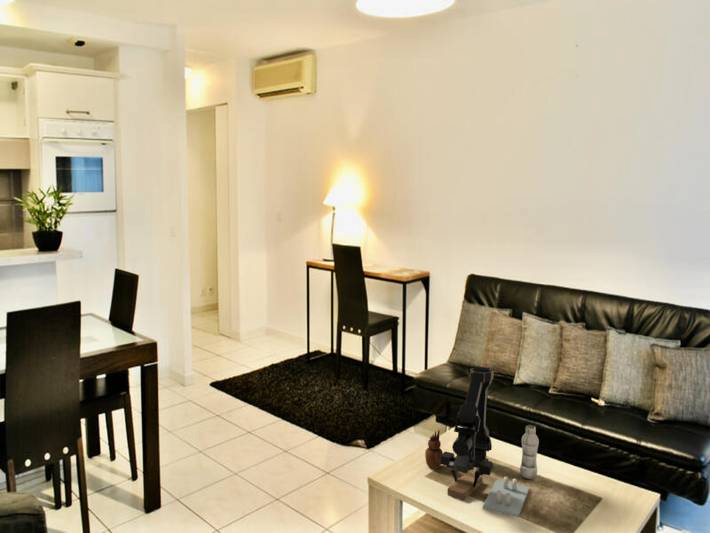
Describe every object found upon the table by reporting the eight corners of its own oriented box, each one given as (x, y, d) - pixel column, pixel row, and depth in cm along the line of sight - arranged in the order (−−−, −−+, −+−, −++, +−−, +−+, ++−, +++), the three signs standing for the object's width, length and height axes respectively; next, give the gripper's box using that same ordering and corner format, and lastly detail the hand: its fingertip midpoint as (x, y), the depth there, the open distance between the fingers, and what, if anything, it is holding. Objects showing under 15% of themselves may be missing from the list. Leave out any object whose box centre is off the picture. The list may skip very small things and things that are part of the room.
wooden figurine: (441, 463, 229) (443, 427, 227) (442, 470, 223) (443, 433, 221) (424, 462, 229) (425, 427, 227) (425, 469, 224) (426, 433, 222)
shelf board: (467, 478, 217) (468, 471, 217) (482, 483, 214) (482, 476, 213) (447, 496, 205) (447, 488, 204) (462, 501, 201) (462, 493, 201)
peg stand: (496, 482, 214) (496, 469, 213) (529, 490, 209) (529, 477, 208) (482, 508, 196) (483, 494, 196) (518, 517, 191) (519, 503, 190)
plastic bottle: (518, 479, 217) (521, 429, 214) (520, 471, 223) (523, 422, 220) (536, 482, 214) (539, 431, 212) (537, 474, 220) (540, 425, 218)
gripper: (435, 447, 204) (434, 488, 206) (487, 459, 196) (485, 501, 198) (444, 436, 214) (443, 475, 216) (494, 446, 206) (492, 487, 208)
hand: (465, 484), depth 209 cm, fingers closed on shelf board, 6 cm apart
